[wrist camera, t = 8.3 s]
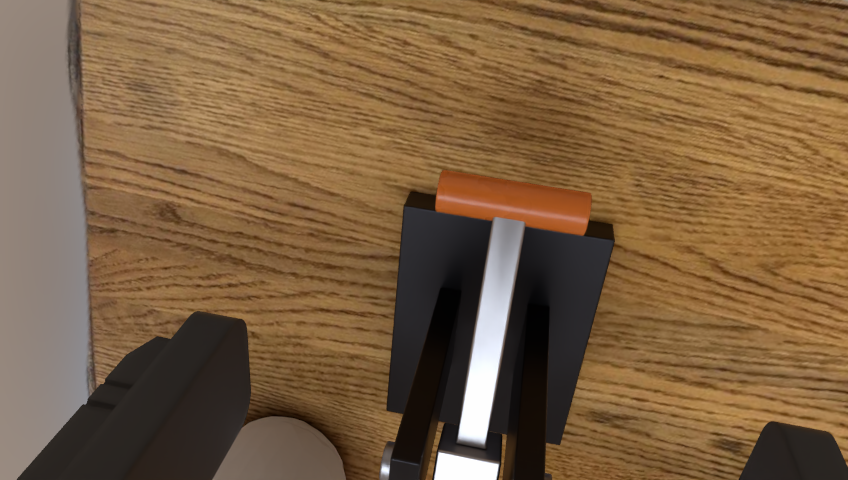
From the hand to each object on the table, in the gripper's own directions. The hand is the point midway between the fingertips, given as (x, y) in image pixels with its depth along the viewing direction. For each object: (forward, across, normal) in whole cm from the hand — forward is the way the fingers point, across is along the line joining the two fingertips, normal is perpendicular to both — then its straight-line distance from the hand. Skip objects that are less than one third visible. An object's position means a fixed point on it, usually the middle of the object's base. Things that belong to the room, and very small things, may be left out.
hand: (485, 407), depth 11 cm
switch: (+12, 0, +8) cm, 14 cm away
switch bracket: (+19, 0, +12) cm, 22 cm away
